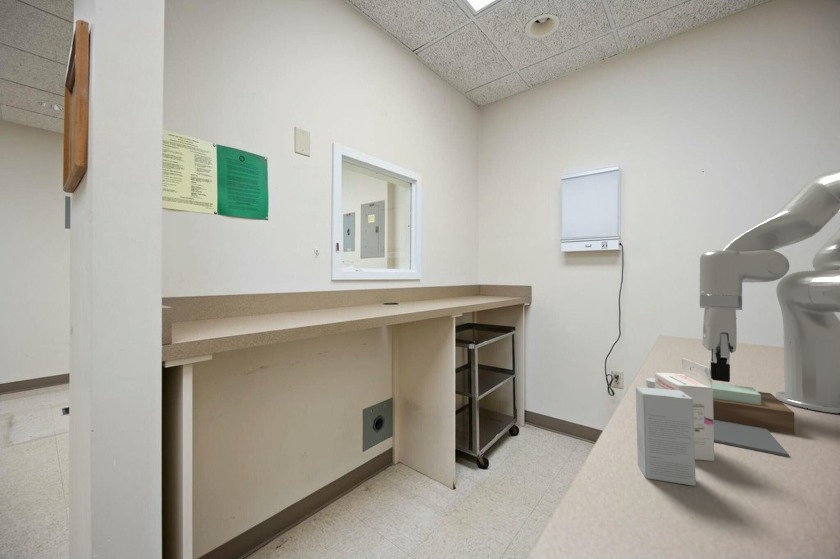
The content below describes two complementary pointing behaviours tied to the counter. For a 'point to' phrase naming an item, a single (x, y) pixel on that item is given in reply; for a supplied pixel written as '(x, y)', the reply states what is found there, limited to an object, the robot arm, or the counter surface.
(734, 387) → the mint green block
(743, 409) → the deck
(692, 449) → the skincare box
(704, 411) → the ink cartridge box
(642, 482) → the counter surface
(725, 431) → the mat
